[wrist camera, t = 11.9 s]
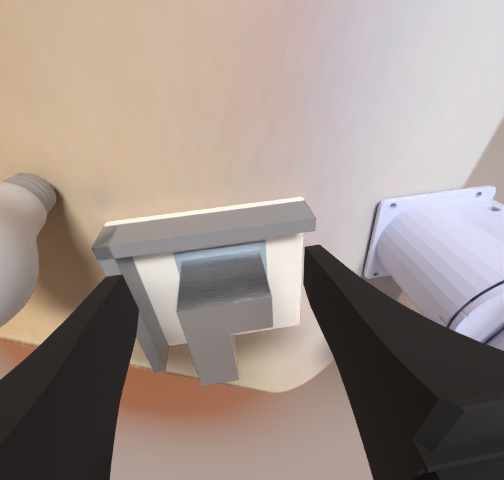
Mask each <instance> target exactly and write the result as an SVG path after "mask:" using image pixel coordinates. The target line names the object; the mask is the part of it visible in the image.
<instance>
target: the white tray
mask: <svg viewBox="0 0 504 480" xmlns="http://www.w3.org/2000/svg"><path fill="white" fill-rule="evenodd" d="M315 225H316V217H315V216H314V214H313V213H312V211H311V209H310V208H309V206H308V205H307V203H306V202H305V200H304V199H303V197H296V198H288V199H280V200H272V201H265V202H257V203H249V204H242V205H234V206H226V207H218V208H211V209H203V210H195V211H187V212H180V213H172V214H164V215H156V216H149V217H141V218H133V219H125V220H118V221H110V222H106V223H105V225H104V227H103V229H102V230H101V232H100V234H99V236H98V237H97V239H96V241H95V243H94V245H93V246H92V248H91V249H92V250H93V252H94V254H95V256H96V258H97V260H98V262H99V264H100V266H101V268H102V270H103V272H104V274H105V276H106V277H107V276H114V275H121V274H123V276H124V279H125V281H126V283H127V285H128V287H129V289H130V291H131V293H132V295H133V298H134V300H135V302H136V304H137V306H138V308H139V318H138V327H137V334H136V337H137V339H138V341H139V343H140V345H141V347H142V349H143V351H144V352H145V354H146V356H147V358H148V360H149V362H150V364H151V366H152V368H153V370H154V372H160V371H166V365H167V357H168V349H169V346H172V345H179V344H185V343H187V342H186V339H185V336H184V333H183V330H182V327H181V324H180V321H179V319H178V316H177V313H176V310H177V300H178V291H179V282H180V273H181V263H182V261H185V260H192V259H199V258H206V257H213V256H220V255H227V254H234V253H241V252H248V251H255V250H260V254H261V258H262V261H263V265H264V269H265V273H266V276H267V280H268V284H269V288H270V291H271V295H272V308H273V327H271V328H265V329H259V330H253V331H247V332H241V333H234V335H240V334H246V333H252V332H258V331H265V330H271V329H277V328H283V327H289V326H295V325H299V319H300V296H301V273H302V250H303V232H311V231H315Z"/></svg>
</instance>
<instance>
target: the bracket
mask: <svg viewBox="0 0 504 480" xmlns="http://www.w3.org/2000/svg"><path fill="white" fill-rule="evenodd" d="M176 313H177V316H178V319H179V321H180V324H181V327H182V330H183V333H184V336H185V339H186V342H187V344H188V347H189V350H190V353H191V356H192V359H193V362H194V365H195V367H196V370H197V373H198V376H199V379H200V382H201V384H202V386H206V385H212V384H218V383H223V382H229V381H235V380H239V374H238V364H237V354H236V345H235V335H234V333H241V332H247V331H253V330H259V329H265V328H271V327H273V308H272V295H271V291H270V288H269V284H268V280H267V276H266V273H265V269H264V265H263V261H262V258H261V254H260V250H255V251H248V252H241V253H234V254H227V255H220V256H213V257H206V258H199V259H192V260H185V261H182V263H181V273H180V282H179V291H178V300H177V310H176Z"/></svg>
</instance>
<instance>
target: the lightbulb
mask: <svg viewBox="0 0 504 480" xmlns="http://www.w3.org/2000/svg"><path fill="white" fill-rule="evenodd" d="M55 203H56V194H55V191H54V189H53V188H52V186H51V185H50V184H49V183H48V182H47V181H45V180H44V179H42V178H40V177H38V176H36V175H33V174H28V173H21V174H17V175H14V176H13V177H10V178H8V179H7V180H4V181H3V182H0V327H1V326H3V325H4V324H6V323H7V322H8V321H9V320H10V319H12V318H13V317H14V316H15V315H16V314H17V313H18V312H19V311H20V310H21V309H22V308H23V307H24V306H25V304H26V303H27V301H28V300H29V299H30V297H31V295H32V293H33V291H34V289H35V286H36V283H37V279H38V274H39V259H38V250H37V245H36V238H37V236H38V234H39V232H40V230H41V229H42V228H43V226H44V224H45V222H46V217H47V215H48V213H49V212H50V211H51V209H52V208H53V206H54V205H55Z"/></svg>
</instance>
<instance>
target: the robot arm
mask: <svg viewBox="0 0 504 480" xmlns="http://www.w3.org/2000/svg"><path fill="white" fill-rule="evenodd" d="M495 192H496V188H495V187H493V186H481V187H475V188H466V189H459V190H451V191H444V192H436V193H429V194H421V195H414V196H406V197H399V198H391V199H385V200H383V201H381V202H380V203H379V206H378V210H377V214H376V219H375V224H374V228H373V233H372V237H371V242H370V247H369V251H368V256H367V260H366V265H365V270H364V276H365V277H366V278H367V279H371V278H377V277H384V276H390V275H391V277H392V278H393V279H394V280H395V282H396V283H397V284H398V285H399V286H400V288H401V289H402V290H403V291H404V293H405V294H406V295H407V296H408V298H409V299H410V300H411V301H412V302H413V304H414V305H415V306H416V308H417V309H418V310H419V311H420V312H421V314H422V315H423V316H422V315H420V314H419V313H417V312H415V311H413V310H411V309H409V308H407V307H406V306H404V305H402V304H401V303H399V302H397V301H395V300H394V299H392V298H390V297H389V296H387V295H386V294H384V293H382V292H381V291H379V290H378V289H376V288H375V287H373V286H372V285H371V284H369V283H368V282H366V281H365V280H363V279H362V278H361V277H359V276H358V275H357V274H355V273H354V272H353V271H351V270H350V269H349V268H348V267H346V266H345V265H344V264H343V263H341V262H340V261H339V260H338V259H336V258H335V257H334V256H333V255H332V254H330V253H329V252H328V251H327V250H326V249H324V248H323V247H322V246H321V245H314V246H307V247H305V255H304V281H303V284H304V287H305V291H306V294H307V297H308V300H309V303H310V306H311V308H312V310H313V313H314V315H315V317H316V319H317V321H318V324H319V326H320V328H321V330H322V332H323V334H324V337H325V339H326V341H327V343H328V345H329V347H330V350H331V352H332V354H333V356H334V359H335V361H336V364H337V366H338V369H339V372H340V375H341V378H342V381H343V383H344V386H345V389H346V392H347V395H348V398H349V401H350V404H351V407H352V410H353V413H354V416H355V419H356V423H357V426H358V429H359V432H360V436H361V439H362V442H363V445H364V449H365V452H366V455H367V459H368V462H369V466H370V469H371V473H372V476H373V479H374V480H504V205H502V204H500V203H499V202H497V201H495V200H493V197H494V195H495ZM476 193H477V194H476ZM393 203H394V204H393ZM391 204H393V205H392V206H391V207H390V205H391ZM138 318H139V308H138V306H137V304H136V302H135V300H134V298H133V295H132V293H131V291H130V289H129V287H128V285H127V283H126V281H125V279H124V276H123V274H121V275H114V276H107V277H106V278H105V279H104V280H102V282H101V283H100V284H99V285H98V286H97V287H96V288H95V289H94V290H93V291H92V292H91V293H90V294H89V295H88V297H87V298H86V299H85V300H84V301H83V302H82V303H81V304H80V305H79V306H78V307H77V308H76V309H75V311H74V312H73V313H72V314H71V315H70V316H69V317H68V318H67V319H66V320H65V321H64V322H63V323H62V324H61V325H60V326H59V327H58V328H57V329H56V330H55V331H54V332H53V333H52V334H51V335H50V336H49V337H48V338H47V339H46V340H45V341H44V342H43V343H42V344H41V345H40V346H39V347H38V348H37V349H35V350H34V351H33V352H32V353H31V354H30V355H29V356H28V357H27V358H26V359H24V360H23V361H22V362H21V363H20V364H19V365H17V366H16V367H15V368H14V369H13V370H12V371H11V372H9V373H8V374H7V375H6V376H4V377H3V378H2V379H1V380H0V480H110V471H111V461H112V453H113V444H114V438H115V430H116V424H117V417H118V410H119V404H120V399H121V394H122V390H123V386H124V382H125V378H126V374H127V371H128V367H129V363H130V359H131V355H132V351H133V347H134V343H135V339H136V334H137V327H138Z"/></svg>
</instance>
